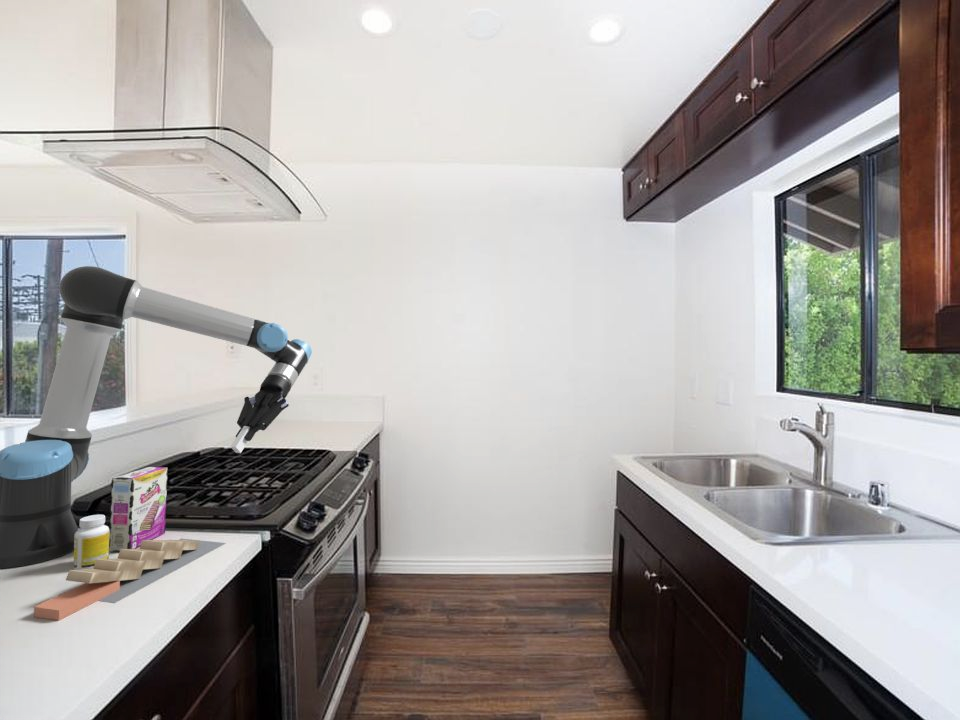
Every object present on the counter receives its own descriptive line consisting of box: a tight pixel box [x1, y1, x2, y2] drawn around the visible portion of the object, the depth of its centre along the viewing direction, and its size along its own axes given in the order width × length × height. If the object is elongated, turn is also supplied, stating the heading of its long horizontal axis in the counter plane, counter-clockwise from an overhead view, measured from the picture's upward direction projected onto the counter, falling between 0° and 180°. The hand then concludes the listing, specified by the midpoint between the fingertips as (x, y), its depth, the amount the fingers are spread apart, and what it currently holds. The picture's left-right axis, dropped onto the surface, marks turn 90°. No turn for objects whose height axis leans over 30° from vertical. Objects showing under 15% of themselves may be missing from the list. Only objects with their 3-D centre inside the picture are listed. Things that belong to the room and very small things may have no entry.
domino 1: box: [33, 581, 120, 621], centre depth 77 cm, size 2×5×10 cm
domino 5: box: [138, 539, 199, 551], centre depth 95 cm, size 2×5×10 cm
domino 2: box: [65, 569, 142, 584], centre depth 81 cm, size 2×5×10 cm
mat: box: [58, 537, 227, 604], centre depth 91 cm, size 26×12×1 cm, turn 170°
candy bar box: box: [109, 466, 169, 553], centre depth 102 cm, size 11×5×16 cm, turn 0°
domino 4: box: [117, 548, 182, 561], centre depth 90 cm, size 2×5×10 cm
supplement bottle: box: [73, 514, 110, 570], centre depth 91 cm, size 5×5×10 cm
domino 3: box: [93, 557, 163, 571], centre depth 86 cm, size 2×5×10 cm
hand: (235, 449), depth 113 cm, fingers closed
